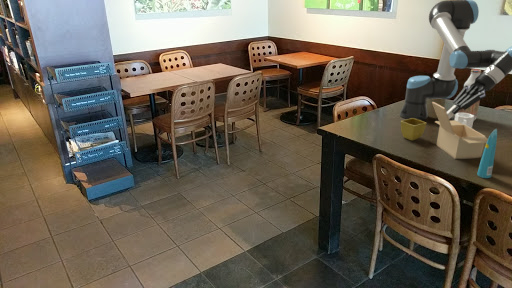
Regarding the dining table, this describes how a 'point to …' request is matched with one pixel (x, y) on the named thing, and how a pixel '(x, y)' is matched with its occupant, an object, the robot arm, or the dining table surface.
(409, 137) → the flower pot
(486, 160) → the tube
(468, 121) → the mug
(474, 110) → the fruit juice
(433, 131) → the dining table surface
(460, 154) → the carton
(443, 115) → the flap
